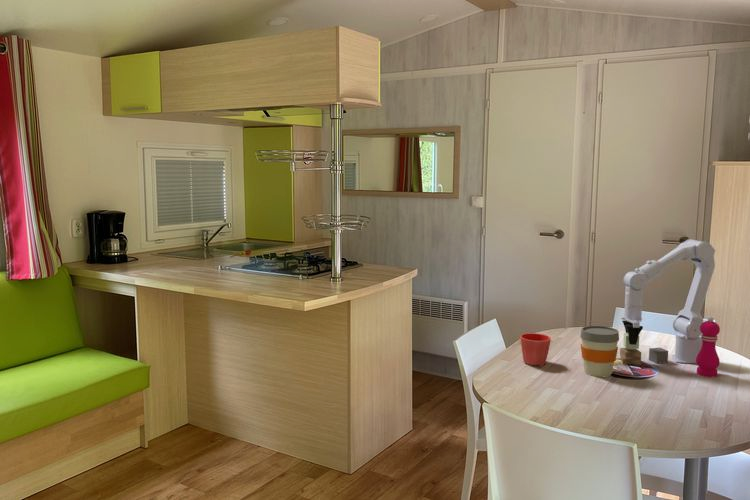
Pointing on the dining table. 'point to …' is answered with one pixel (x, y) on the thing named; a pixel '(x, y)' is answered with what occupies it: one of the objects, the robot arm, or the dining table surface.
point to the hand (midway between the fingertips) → (631, 342)
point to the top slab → (630, 353)
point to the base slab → (630, 361)
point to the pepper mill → (708, 349)
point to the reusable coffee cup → (599, 349)
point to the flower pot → (535, 348)
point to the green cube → (627, 344)
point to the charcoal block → (658, 355)
